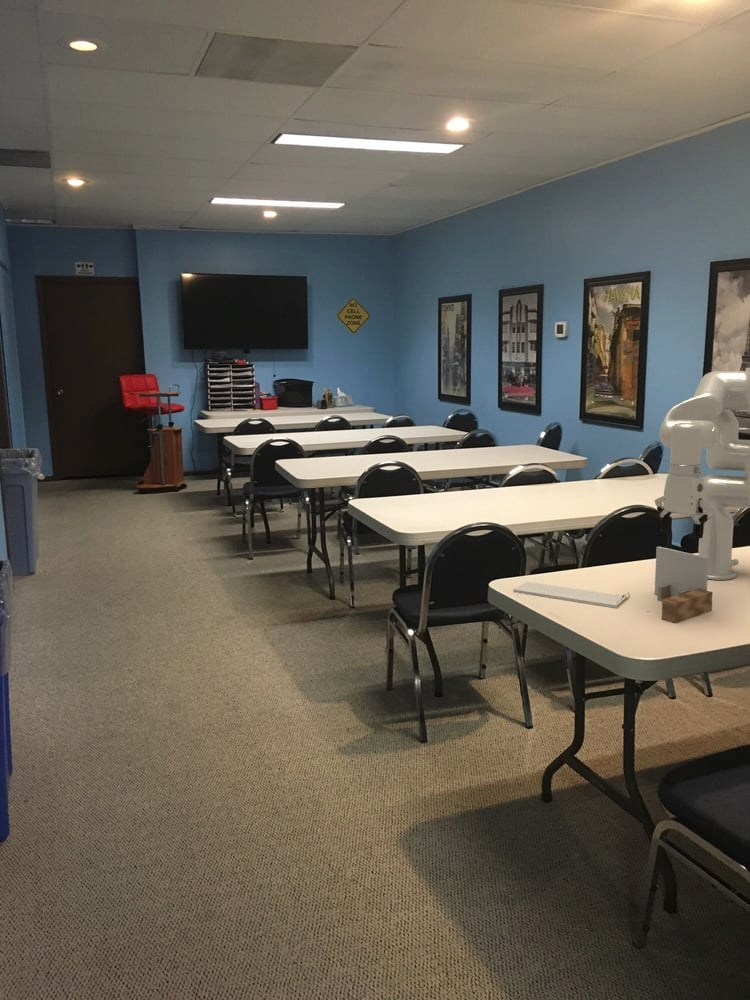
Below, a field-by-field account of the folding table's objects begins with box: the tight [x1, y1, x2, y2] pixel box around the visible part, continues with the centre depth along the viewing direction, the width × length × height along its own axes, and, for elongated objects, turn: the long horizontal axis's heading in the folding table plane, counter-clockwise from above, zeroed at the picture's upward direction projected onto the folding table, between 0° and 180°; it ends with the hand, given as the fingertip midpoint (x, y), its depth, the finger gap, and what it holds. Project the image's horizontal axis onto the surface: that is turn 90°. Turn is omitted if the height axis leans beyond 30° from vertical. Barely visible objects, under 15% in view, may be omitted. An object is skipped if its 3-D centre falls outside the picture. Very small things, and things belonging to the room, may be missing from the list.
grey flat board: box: [512, 581, 631, 609], centre depth 227 cm, size 31×3×12 cm
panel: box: [654, 546, 709, 602], centre depth 217 cm, size 5×16×14 cm, turn 32°
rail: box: [661, 589, 713, 624], centre depth 206 cm, size 16×4×6 cm, turn 124°
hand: (681, 535), depth 204 cm, fingers open, 9 cm apart
